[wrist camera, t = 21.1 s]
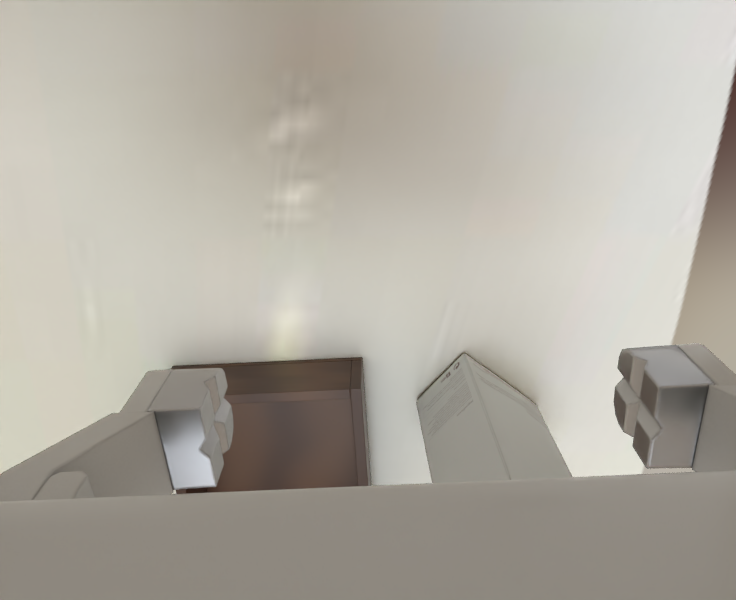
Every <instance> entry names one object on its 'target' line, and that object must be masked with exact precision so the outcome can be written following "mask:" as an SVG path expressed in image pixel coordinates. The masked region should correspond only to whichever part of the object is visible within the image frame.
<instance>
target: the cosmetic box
mask: <svg viewBox="0 0 736 600" xmlns="http://www.w3.org/2000/svg"><path fill="white" fill-rule="evenodd" d="M417 408H418V413H419V419H420V424H421V429H422V434H423V439H424V444H425V449H426V454H427V459H428V464H429V469H430V474H431V479H432V483H448V482H472V481H496V480H519V479H542V478H566V477H572V475H571V473H570V471H569V469H568V467H567V465H566V463H565V461H564V459H563V457H562V455H561V453H560V451H559V449H558V447H557V445H556V443H555V441H554V439H553V437H552V435H551V433H550V431H549V429H548V427H547V425H546V423H545V421H544V419H543V417H542V415H541V413H540V411H539V409H538V407H537V405H536V404H534V403H533V402H532V401H531V400H529V399H528V398H527V397H525V396H524V395H522V394H521V393H520V392H518V391H517V390H516V389H514V388H513V387H512V386H510V385H509V384H507V383H506V382H505V381H503V380H502V379H501V378H499V377H498V376H496V375H495V374H494V373H492V372H491V371H489V370H488V369H486V368H485V367H483V366H482V365H480V364H479V363H477V362H476V361H475V360H473V359H472V358H471V357H469V356H468V355H467V354H465V353H464V354H462V355H461V356H460V357H459V358H458V359H457V360H456V361H455V362H454V363H453V364H452V366H451V367H450V368H449V369H448V370H447V371H446V372H445V373H444V374H442V375H441V376H440V378H439V379H437V380H436V381H435V382H434V383H433V384H432V385H431V386H430V387H429V388H428V389H427V390H426V391H425V392H424V393H423V394H422V395H421V396H420V397H419V398H418V401H417Z"/></svg>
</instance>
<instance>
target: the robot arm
mask: <svg viewBox="0 0 736 600" xmlns="http://www.w3.org/2000/svg"><path fill="white" fill-rule="evenodd" d="M618 369H619V371H620V372H621V374H622V375H623V376H624V378H623V379H622V380H621V381H620V382H619V383H618V384H617V385H616V387H615V394H614V407H615V415H616V418H617V420H618V423H619V425H620V427H621V428H622V430H623V432H625V433H626V434H628V435H630V436H632V437H634V439H633V448H634V449H635V451H636V452H637V454H638V456H639V457H640V459H641V460H642V462H643V463H644V465H645V466H646V468H692V470H694V471H695V472H684V473H660V474H636V475H612V476H589V477H566V478H542V479H519V480H496V481H472V482H448V483H425V484H401V485H378V486H354V487H330V488H307V489H283V490H260V491H236V492H212V493H189V494H172V493H173V490H178V489H192V488H206V487H216V486H217V483H218V480H219V478H220V475H221V472H222V469H223V466H224V460H223V454H224V453H225V452H227V451H228V450H229V449H230V446H231V442H232V438H233V428H234V425H233V413H232V407H231V404H230V403H229V402H228V401H227V400H226V399H225V398H224V395H225V393H226V390H227V388H228V385H227V380H226V376H225V372H224V371H223V369H222V368H205V369H175V370H173V369H166V370H153V371H148V372H147V373H146V374H145V376H144V377H143V379H142V380H141V382H140V383H139V385H138V386H137V388H136V389H135V390H134V392H133V393H132V395H131V396H130V398H129V399H128V401H127V402H126V404H125V405H124V407H123V408H122V410H121V411H120V413H112V414H110V415H108V416H106V417H104V418H102V419H101V420H99V421H97V422H95V423H93V424H91V425H90V426H88V427H86V428H84V429H82V430H80V431H78V432H77V433H75V434H73V435H71V436H69V437H67V438H66V439H64V440H62V441H60V442H58V443H56V444H55V445H53V446H51V447H49V448H47V449H45V450H43V451H42V452H40V453H38V454H36V455H34V456H32V457H31V458H29V459H27V460H25V461H23V462H21V463H19V464H18V465H16V466H14V467H12V468H10V469H8V470H7V471H5V472H3V473H2V474H1V475H0V600H736V374H734V373H733V372H732V371H731V370H730V369H729V368H728V367H727V366H726V365H725V364H724V363H723V362H722V361H721V360H719V359H718V358H717V357H716V356H715V355H714V354H713V353H712V352H711V351H710V350H709V349H707V347H705V346H704V345H702V344H699V343H694V344H683V345H667V346H654V347H640V348H627V349H622V351H621V353H620V356H619V361H618Z"/></svg>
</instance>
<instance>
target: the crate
mask: <svg viewBox="0 0 736 600" xmlns="http://www.w3.org/2000/svg"><path fill="white" fill-rule="evenodd" d="M205 368H222V369H223V371H224V372H225V376H226V380H227V385H228V388H227V390H226V393H225V395H224V398H225V399H226V400H227V401H228V402H229V403H230V404H231V407H232V413H233V425H234V428H233V438H232V442H231V446H230V449H229V450H228V451H227V452H225V453H224V454H223V460H224V466H223V469H222V472H221V475H220V478H219V480H218V483H217V486H216V487H206V488H192V489H178V490H176V493H177V494H189V493H212V492H236V491H260V490H283V489H307V488H330V487H354V486H371V472H370V458H369V444H368V429H367V415H366V401H365V387H364V373H363V359H362V358H343V359H322V360H300V361H279V362H257V363H236V364H215V365H193V366H173V367H172V368H171V369H173V370H175V369H205Z"/></svg>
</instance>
